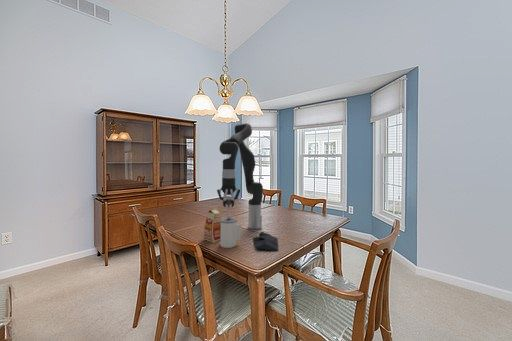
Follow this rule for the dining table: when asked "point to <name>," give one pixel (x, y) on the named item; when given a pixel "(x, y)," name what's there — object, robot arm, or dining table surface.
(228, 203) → the plunger
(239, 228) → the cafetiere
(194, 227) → the dining table surface
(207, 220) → the milk carton
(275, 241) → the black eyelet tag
